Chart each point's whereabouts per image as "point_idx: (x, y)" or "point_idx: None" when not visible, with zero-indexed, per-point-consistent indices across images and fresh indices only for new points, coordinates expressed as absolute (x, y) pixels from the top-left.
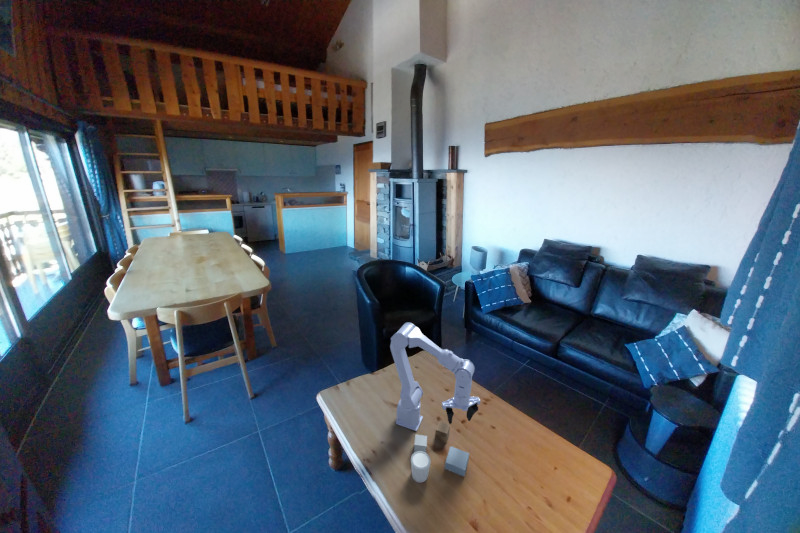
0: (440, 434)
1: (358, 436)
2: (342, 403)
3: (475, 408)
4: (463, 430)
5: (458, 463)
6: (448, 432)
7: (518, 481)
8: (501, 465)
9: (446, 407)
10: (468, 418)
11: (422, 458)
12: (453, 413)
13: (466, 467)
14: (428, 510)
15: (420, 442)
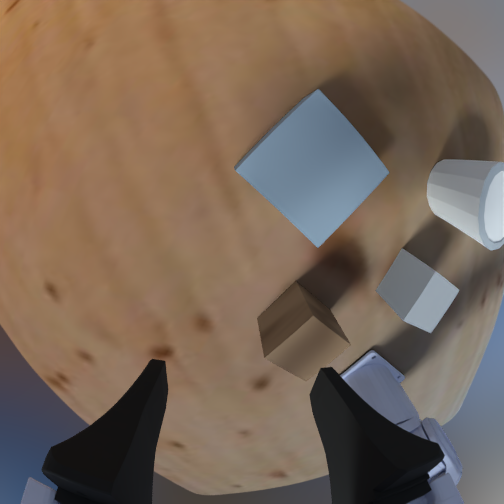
0: (328, 320)
1: (477, 343)
2: (443, 412)
3: (76, 487)
4: (179, 317)
5: (333, 135)
6: (275, 323)
7: (82, 35)
8: (95, 103)
9: (419, 497)
10: (162, 379)
11: (496, 210)
12: (407, 470)
13: (271, 129)
14: (458, 78)
15: (440, 294)
